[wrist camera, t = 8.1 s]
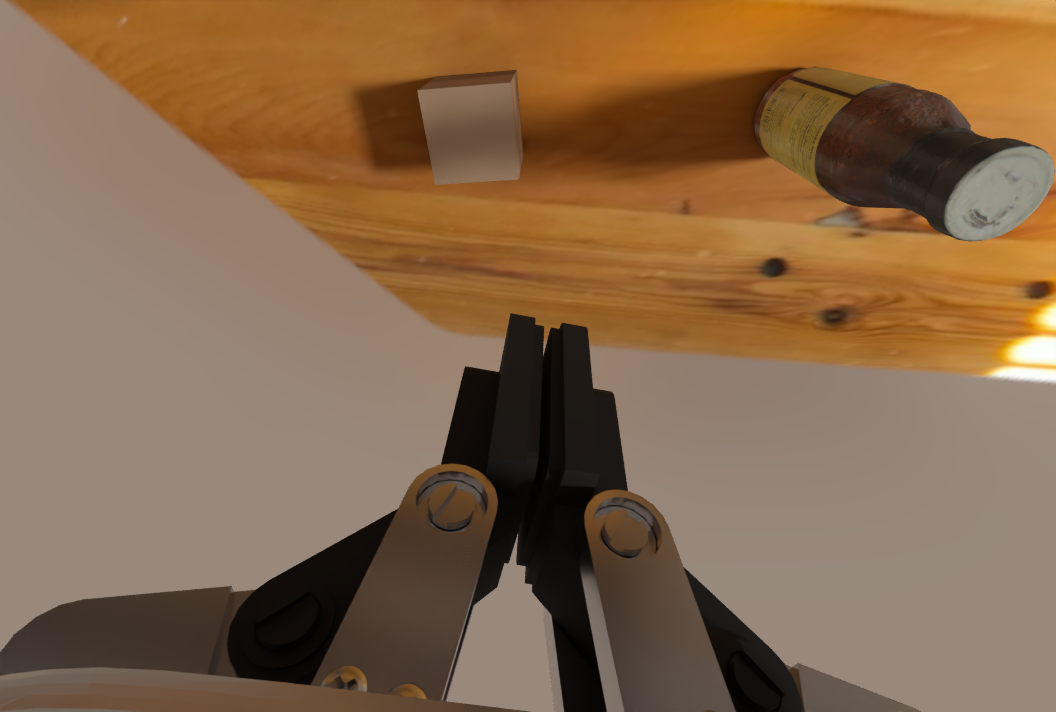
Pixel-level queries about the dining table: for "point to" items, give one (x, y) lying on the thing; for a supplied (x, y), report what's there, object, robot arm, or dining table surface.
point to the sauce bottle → (900, 152)
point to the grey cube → (473, 127)
